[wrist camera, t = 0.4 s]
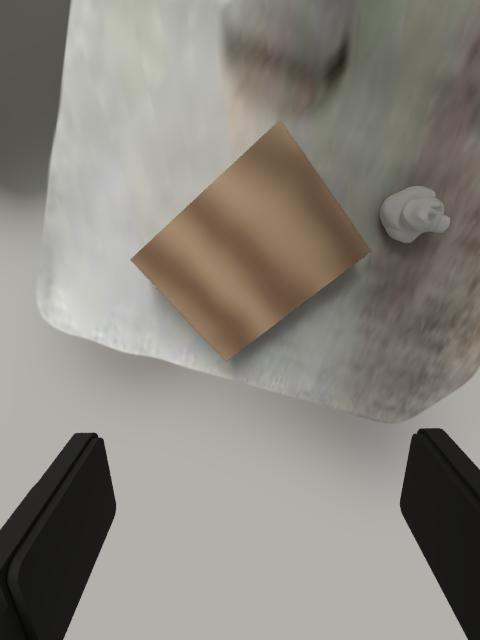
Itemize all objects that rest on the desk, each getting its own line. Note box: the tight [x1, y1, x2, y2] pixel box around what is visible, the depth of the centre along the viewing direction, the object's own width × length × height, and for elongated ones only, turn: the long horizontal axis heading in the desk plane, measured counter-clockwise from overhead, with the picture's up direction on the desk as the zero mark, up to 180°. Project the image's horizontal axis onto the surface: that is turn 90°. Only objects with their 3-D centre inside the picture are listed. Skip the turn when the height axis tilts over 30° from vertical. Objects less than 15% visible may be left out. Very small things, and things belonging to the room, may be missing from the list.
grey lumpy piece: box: [380, 186, 450, 243], centre depth 31 cm, size 5×7×8 cm
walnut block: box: [130, 120, 371, 361], centre depth 33 cm, size 18×14×6 cm
